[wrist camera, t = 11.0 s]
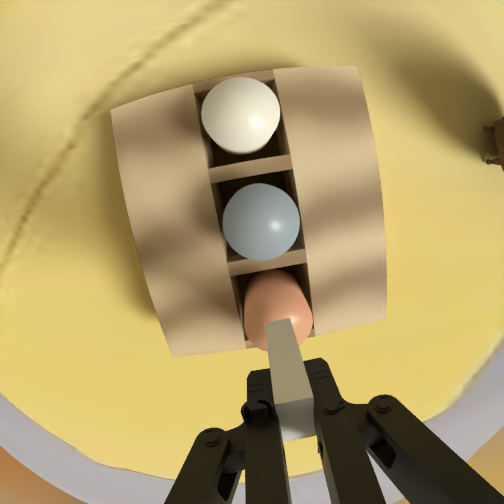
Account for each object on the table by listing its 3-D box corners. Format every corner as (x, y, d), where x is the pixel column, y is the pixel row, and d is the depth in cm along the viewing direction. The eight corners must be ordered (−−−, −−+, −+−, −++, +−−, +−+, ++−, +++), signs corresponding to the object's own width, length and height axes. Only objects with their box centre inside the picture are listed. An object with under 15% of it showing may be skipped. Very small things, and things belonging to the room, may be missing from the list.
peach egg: (239, 274, 21) (237, 300, 17) (296, 264, 21) (309, 287, 17) (250, 324, 22) (251, 357, 18) (303, 314, 22) (315, 345, 18)
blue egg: (222, 189, 20) (215, 192, 15) (283, 178, 19) (293, 178, 15) (234, 247, 21) (231, 266, 16) (292, 237, 21) (304, 253, 16)
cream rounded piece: (206, 104, 18) (196, 85, 14) (266, 93, 18) (271, 72, 13) (216, 160, 19) (208, 156, 15) (277, 150, 19) (286, 142, 15)
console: (135, 120, 21) (110, 109, 16) (336, 84, 20) (356, 65, 16) (183, 327, 26) (172, 357, 21) (364, 294, 26) (385, 318, 21)
